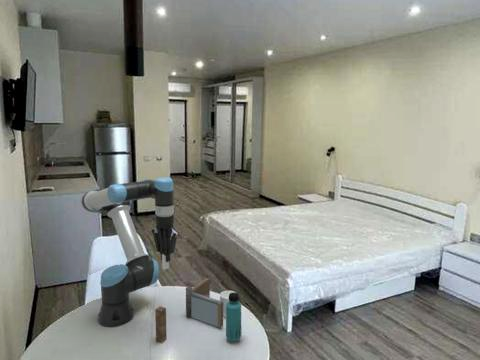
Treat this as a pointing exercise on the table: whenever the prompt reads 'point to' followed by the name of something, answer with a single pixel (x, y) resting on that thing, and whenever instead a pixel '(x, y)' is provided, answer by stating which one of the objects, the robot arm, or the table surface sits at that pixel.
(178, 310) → the table surface
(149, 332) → the table surface
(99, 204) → the robot arm
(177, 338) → the table surface
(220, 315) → the gate panel
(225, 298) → the white cup
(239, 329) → the beverage bottle
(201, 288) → the gate frame
